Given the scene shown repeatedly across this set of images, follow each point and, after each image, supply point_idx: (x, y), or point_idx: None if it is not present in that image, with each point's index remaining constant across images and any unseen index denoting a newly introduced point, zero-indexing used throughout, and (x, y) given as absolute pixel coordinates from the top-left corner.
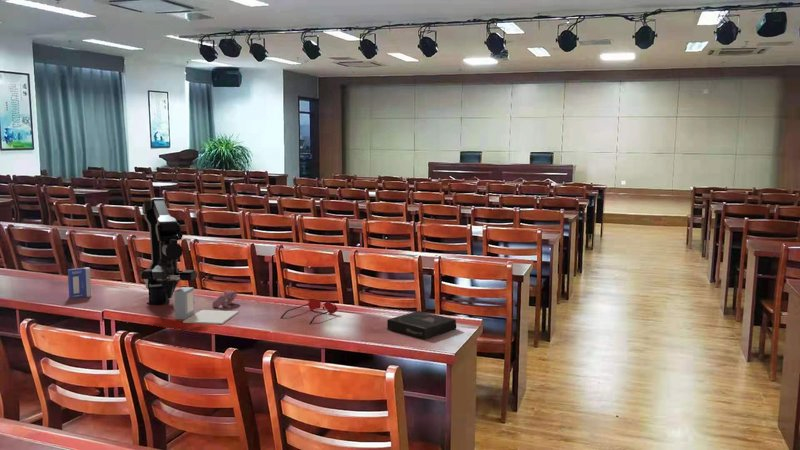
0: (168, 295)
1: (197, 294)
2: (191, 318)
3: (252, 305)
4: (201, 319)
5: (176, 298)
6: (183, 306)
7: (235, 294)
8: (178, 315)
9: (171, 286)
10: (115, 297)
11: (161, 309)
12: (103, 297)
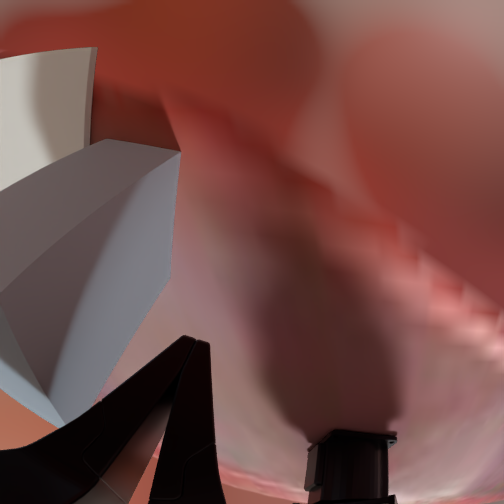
0: (189, 362)
1: (231, 472)
2: (65, 127)
3: None
4: (18, 109)
5: (46, 224)
6: (51, 172)
7: None
8: (140, 154)
9: (67, 441)
10: (467, 465)
11: (332, 379)
12: (491, 460)
